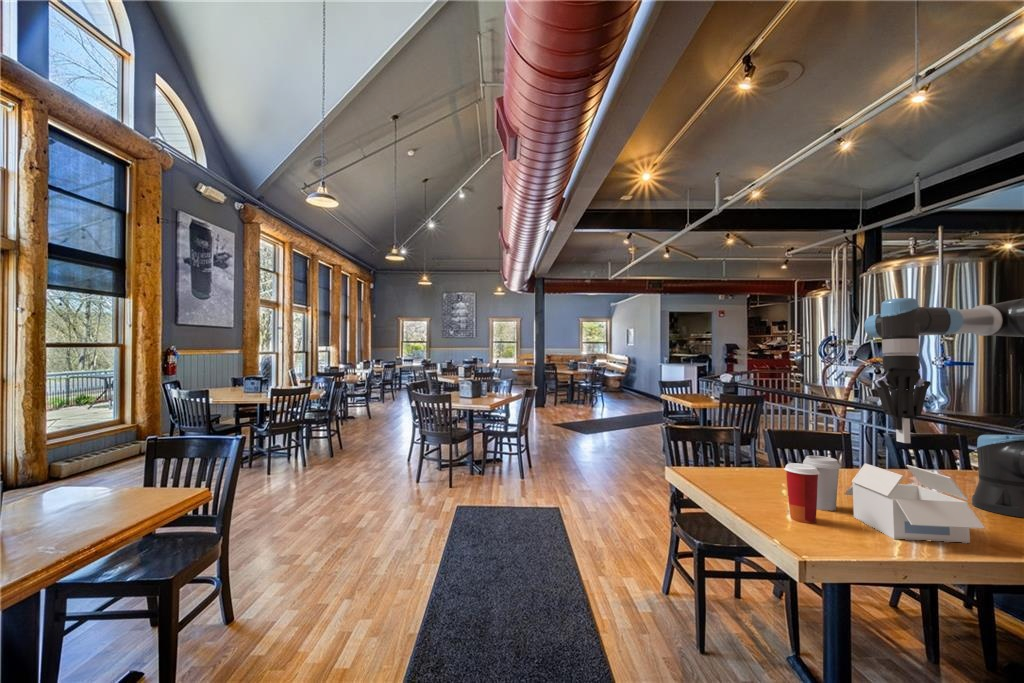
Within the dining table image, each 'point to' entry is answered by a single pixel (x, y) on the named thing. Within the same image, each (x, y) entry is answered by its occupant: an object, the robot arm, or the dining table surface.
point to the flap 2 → (937, 482)
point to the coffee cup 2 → (825, 480)
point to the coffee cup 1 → (802, 491)
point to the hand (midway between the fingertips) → (903, 442)
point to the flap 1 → (877, 479)
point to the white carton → (914, 513)
